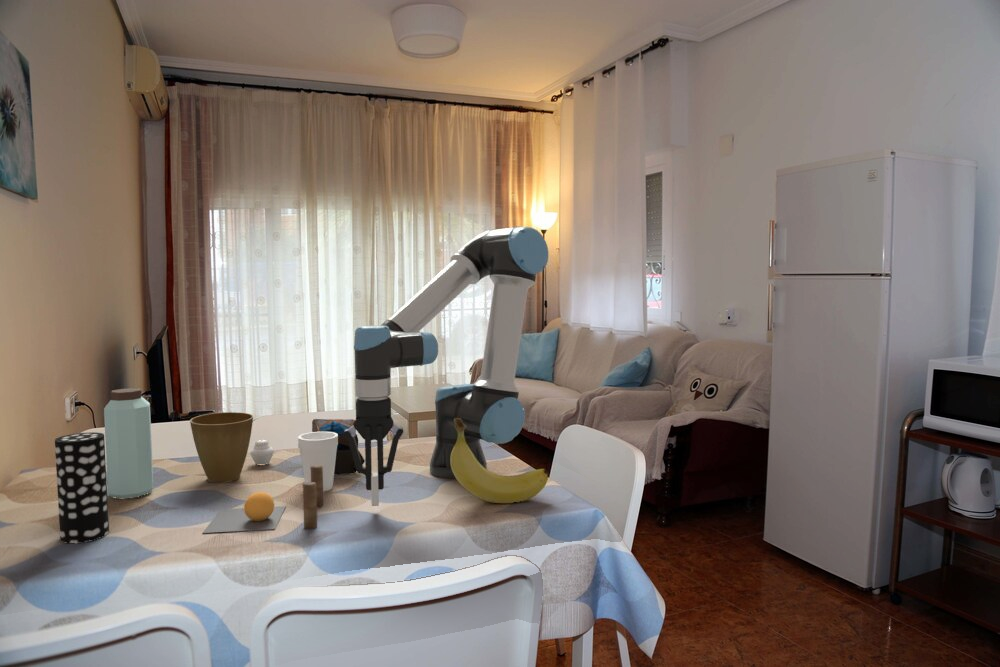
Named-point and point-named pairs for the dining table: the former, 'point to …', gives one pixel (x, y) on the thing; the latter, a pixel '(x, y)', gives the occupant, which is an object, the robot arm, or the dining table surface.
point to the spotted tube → (81, 487)
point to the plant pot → (222, 443)
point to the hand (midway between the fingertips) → (375, 503)
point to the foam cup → (319, 455)
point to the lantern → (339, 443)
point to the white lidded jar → (262, 452)
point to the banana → (492, 476)
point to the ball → (259, 506)
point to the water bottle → (128, 444)
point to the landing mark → (242, 521)
